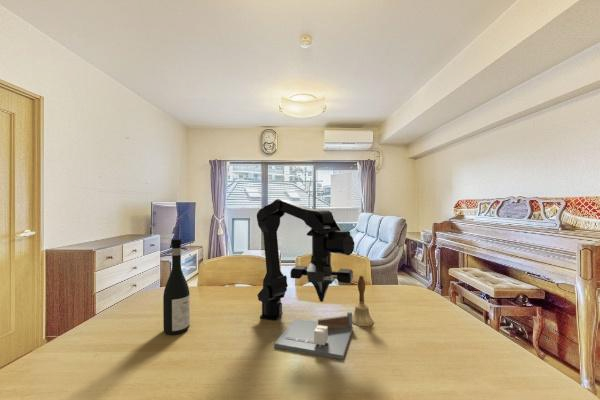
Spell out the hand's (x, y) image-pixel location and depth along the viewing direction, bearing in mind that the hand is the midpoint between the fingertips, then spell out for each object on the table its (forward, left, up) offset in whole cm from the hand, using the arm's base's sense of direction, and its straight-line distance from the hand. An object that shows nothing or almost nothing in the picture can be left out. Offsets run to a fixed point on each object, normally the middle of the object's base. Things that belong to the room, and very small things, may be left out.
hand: (321, 301), depth 88 cm
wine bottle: (-47, -10, -12) cm, 49 cm away
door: (+2, +5, -10) cm, 12 cm away
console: (-2, -1, -11) cm, 11 cm away
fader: (+1, -6, -10) cm, 12 cm away
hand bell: (+10, +16, -12) cm, 22 cm away
